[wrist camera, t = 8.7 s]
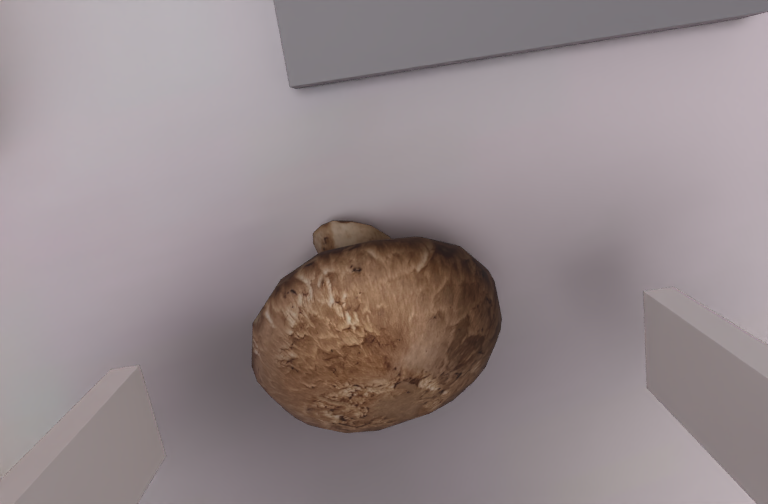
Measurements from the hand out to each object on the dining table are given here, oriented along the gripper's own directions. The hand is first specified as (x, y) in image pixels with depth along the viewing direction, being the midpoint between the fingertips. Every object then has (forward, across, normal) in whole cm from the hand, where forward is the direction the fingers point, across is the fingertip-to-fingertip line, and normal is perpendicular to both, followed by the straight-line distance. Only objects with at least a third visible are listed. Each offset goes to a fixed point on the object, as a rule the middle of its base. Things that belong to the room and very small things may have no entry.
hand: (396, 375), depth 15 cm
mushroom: (+7, +1, 0) cm, 7 cm away
